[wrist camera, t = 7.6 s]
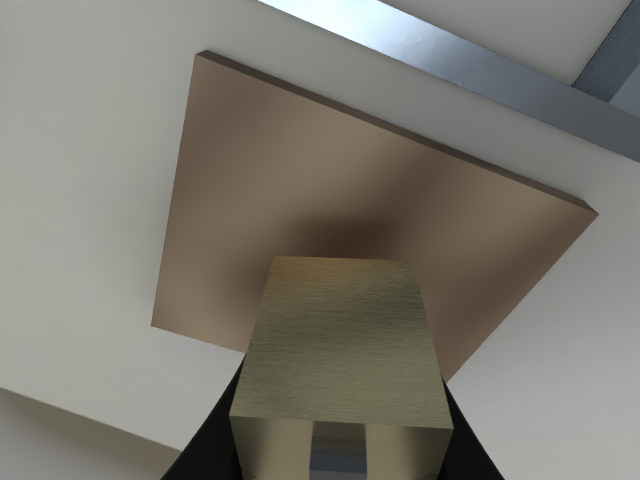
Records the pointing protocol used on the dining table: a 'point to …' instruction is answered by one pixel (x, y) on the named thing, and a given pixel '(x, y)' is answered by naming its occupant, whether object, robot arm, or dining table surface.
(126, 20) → the dining table surface
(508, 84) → the steel goalpost frame
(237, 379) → the robot arm
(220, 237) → the walnut board
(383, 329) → the lever cap
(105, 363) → the dining table surface
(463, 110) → the dining table surface
